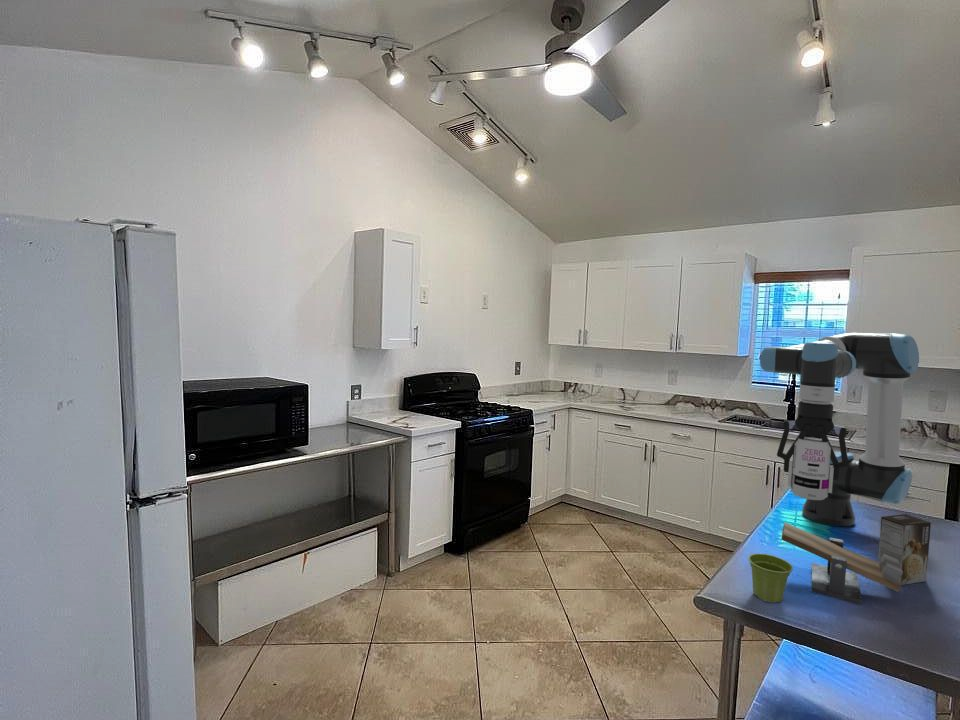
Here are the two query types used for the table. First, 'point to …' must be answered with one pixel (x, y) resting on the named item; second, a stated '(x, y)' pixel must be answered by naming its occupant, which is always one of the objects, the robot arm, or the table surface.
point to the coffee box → (906, 545)
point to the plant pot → (769, 576)
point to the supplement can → (811, 468)
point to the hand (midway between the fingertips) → (809, 487)
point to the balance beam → (881, 572)
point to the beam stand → (836, 579)
